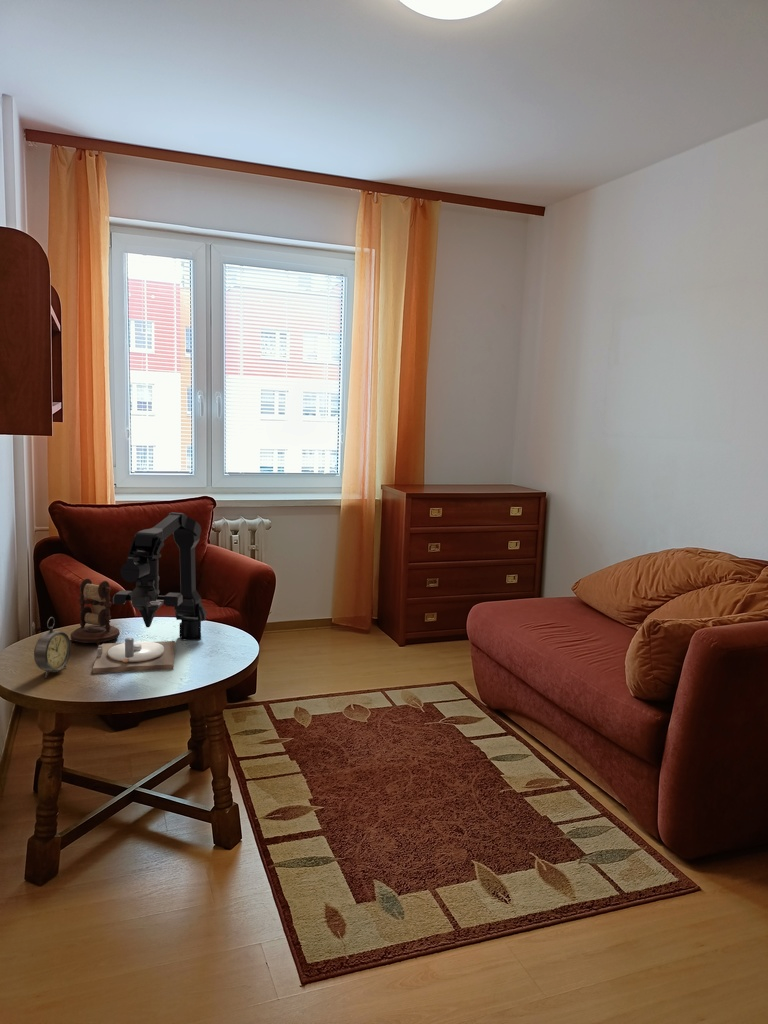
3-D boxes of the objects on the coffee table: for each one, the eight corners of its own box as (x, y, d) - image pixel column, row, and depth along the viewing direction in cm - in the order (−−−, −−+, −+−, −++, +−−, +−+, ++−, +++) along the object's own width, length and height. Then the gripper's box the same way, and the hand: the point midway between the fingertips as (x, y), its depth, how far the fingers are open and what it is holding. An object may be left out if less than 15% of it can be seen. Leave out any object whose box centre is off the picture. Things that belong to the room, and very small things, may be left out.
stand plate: (175, 645, 231) (175, 633, 230) (173, 669, 210) (173, 656, 209) (102, 648, 225) (101, 636, 225) (92, 673, 204) (92, 659, 204)
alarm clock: (47, 680, 197) (46, 623, 195) (30, 678, 198) (29, 621, 196) (72, 667, 208) (71, 613, 206) (56, 665, 209) (55, 611, 207)
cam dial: (119, 643, 225) (119, 624, 224) (170, 645, 225) (170, 626, 224) (97, 662, 208) (97, 641, 207) (152, 664, 208) (152, 644, 207)
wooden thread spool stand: (129, 636, 238) (128, 577, 236) (100, 649, 224) (99, 587, 221) (91, 630, 242) (90, 572, 239) (60, 643, 228) (59, 582, 225)
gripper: (105, 579, 200) (105, 634, 202) (172, 582, 200) (171, 636, 202) (119, 571, 211) (120, 622, 213) (183, 573, 211) (183, 625, 213)
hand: (148, 627), depth 210 cm, fingers closed
